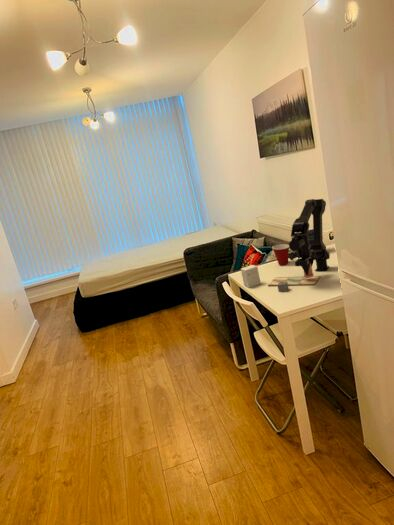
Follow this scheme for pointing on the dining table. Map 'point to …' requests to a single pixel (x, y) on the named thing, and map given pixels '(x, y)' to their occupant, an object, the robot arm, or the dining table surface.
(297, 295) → the dining table surface
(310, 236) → the storage jar
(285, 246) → the plastic cup
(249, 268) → the small box
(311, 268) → the pawn
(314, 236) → the robot arm
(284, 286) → the die
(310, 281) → the board
